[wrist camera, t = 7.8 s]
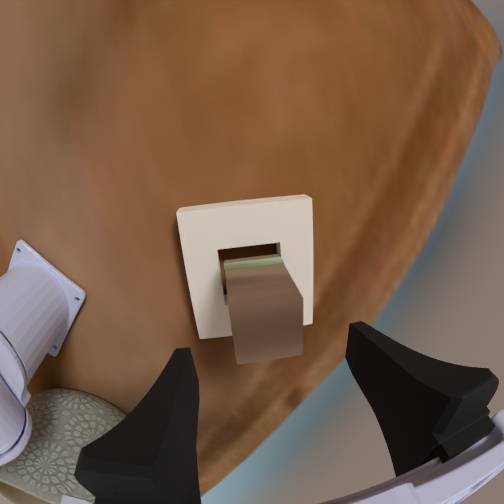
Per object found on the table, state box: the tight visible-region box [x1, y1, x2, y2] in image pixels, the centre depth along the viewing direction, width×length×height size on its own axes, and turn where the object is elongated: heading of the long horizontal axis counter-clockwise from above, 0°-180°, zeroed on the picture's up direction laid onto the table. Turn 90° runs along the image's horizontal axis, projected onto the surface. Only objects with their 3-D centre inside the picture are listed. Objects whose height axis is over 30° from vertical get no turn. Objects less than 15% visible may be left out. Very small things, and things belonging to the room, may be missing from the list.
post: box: [224, 254, 303, 365], centre depth 17 cm, size 4×4×6 cm
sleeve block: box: [176, 195, 313, 339], centre depth 21 cm, size 10×9×2 cm
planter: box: [0, 388, 127, 504], centre depth 19 cm, size 17×17×15 cm
